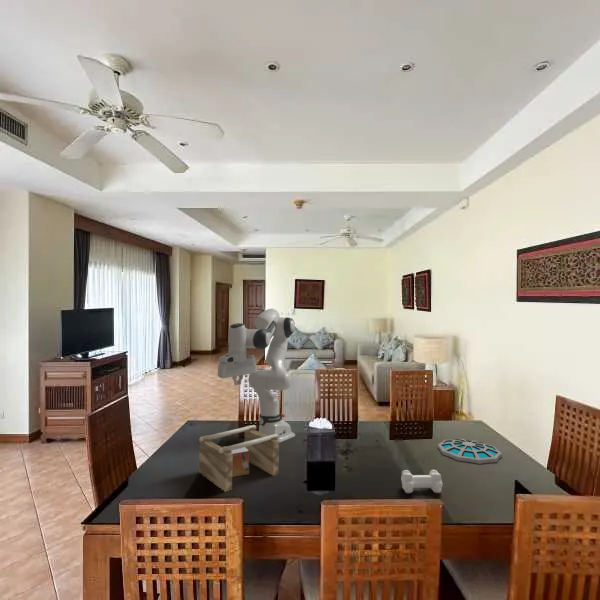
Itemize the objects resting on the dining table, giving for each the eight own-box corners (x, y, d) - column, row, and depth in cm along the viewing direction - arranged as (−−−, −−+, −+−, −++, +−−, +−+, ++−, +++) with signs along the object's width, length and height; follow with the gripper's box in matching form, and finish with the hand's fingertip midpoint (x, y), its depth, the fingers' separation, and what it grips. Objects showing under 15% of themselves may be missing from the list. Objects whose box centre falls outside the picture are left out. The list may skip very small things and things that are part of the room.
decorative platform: (459, 466, 182) (459, 456, 182) (427, 445, 211) (427, 436, 211) (515, 461, 189) (515, 451, 189) (476, 441, 217) (476, 432, 217)
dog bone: (436, 487, 162) (435, 467, 162) (444, 495, 153) (443, 474, 154) (400, 488, 161) (400, 467, 162) (406, 496, 153) (406, 474, 154)
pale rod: (254, 428, 191) (254, 424, 191) (256, 429, 190) (256, 425, 190) (198, 441, 172) (198, 437, 172) (200, 442, 171) (200, 438, 171)
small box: (232, 477, 169) (232, 453, 170) (228, 472, 174) (228, 449, 175) (249, 474, 173) (249, 450, 173) (245, 469, 178) (245, 446, 178)
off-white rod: (276, 437, 178) (276, 433, 178) (278, 438, 176) (278, 434, 176) (217, 453, 158) (217, 448, 158) (220, 454, 157) (220, 449, 157)
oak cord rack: (249, 458, 192) (249, 424, 192) (278, 473, 173) (278, 437, 174) (199, 472, 174) (199, 436, 175) (225, 492, 156) (225, 451, 156)
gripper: (251, 353, 198) (251, 380, 198) (215, 358, 185) (216, 386, 185) (258, 355, 193) (258, 382, 193) (222, 359, 180) (222, 389, 180)
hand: (237, 384), depth 189 cm, fingers closed
